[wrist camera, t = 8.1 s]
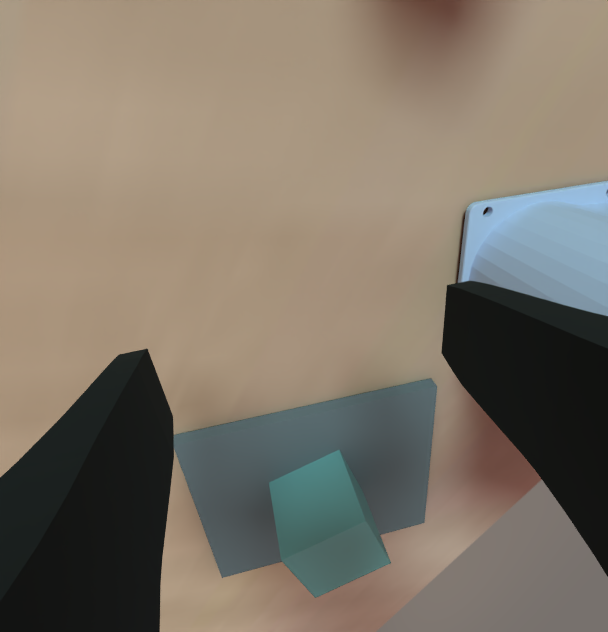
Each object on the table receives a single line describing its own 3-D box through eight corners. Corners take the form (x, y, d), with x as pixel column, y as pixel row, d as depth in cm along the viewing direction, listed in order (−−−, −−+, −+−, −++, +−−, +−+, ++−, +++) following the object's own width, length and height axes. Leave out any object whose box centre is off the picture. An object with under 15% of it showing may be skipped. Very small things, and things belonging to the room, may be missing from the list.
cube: (339, 449, 26) (365, 520, 21) (362, 491, 28) (390, 562, 24) (268, 482, 26) (281, 560, 21) (298, 521, 28) (315, 597, 24)
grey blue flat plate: (430, 378, 25) (437, 386, 25) (419, 513, 32) (424, 522, 32) (174, 435, 23) (173, 445, 23) (221, 566, 30) (222, 577, 30)
